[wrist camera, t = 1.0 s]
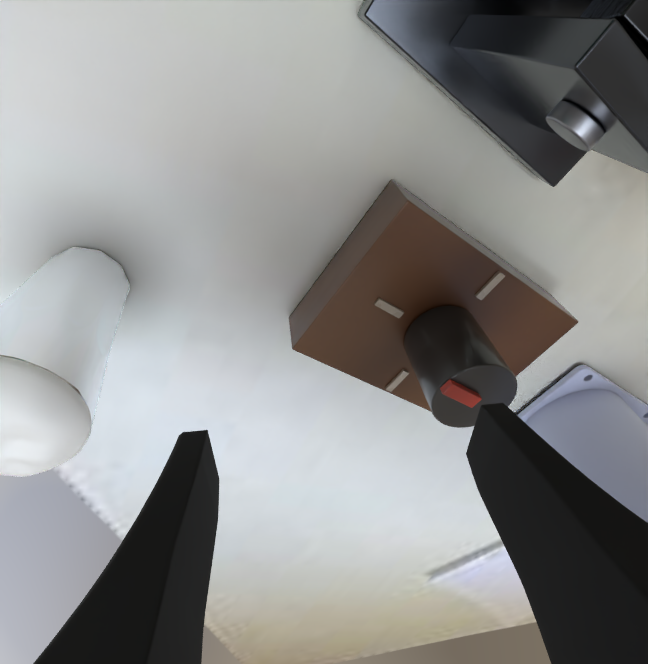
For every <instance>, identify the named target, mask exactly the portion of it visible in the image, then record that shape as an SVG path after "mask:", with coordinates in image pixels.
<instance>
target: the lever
mask: <svg viewBox="0 0 648 664" xmlns="http://www.w3.org/2000/svg"><path fill="white" fill-rule="evenodd" d="M580 17H583V18H615V19H617V20H618V21H619V22H620V24H621V25H622V26H623V28H624V29H625V30H626V32H627V33H628V34H629V36H630V37H631V38H632V39H633V41H634V42H635V43H636V45H637V46H638V47H639V49H640V50H641V51H642V53H643V54H644V55H645V57H646V58H647V59H648V0H593V1H592V2H591V3H590V4H589V6H588V7H587V8H586V9H585V11H584V12H583V13H582V14H581V15H580Z"/></svg>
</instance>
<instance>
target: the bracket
mask: <svg viewBox="0 0 648 664" xmlns="http://www.w3.org/2000/svg"><path fill="white" fill-rule="evenodd" d="M592 1H593V0H365V2H364V4H363V5H362V7H361V9H360V10H359V12H358V17H359V18H361V19H362V20H363V21H364V22H365V23H366V24H367V25H368V26H369V27H371V28H372V29H373V30H374V31H375V32H376V33H377V34H378V35H380V36H381V37H382V38H383V39H384V40H385V41H386V42H387V43H388V44H390V45H391V46H392V47H393V48H394V49H395V50H396V51H397V52H398V53H400V54H401V55H402V56H403V57H404V58H405V59H406V60H407V61H409V62H410V63H411V64H412V65H413V66H414V67H415V68H416V69H417V70H419V71H420V72H421V73H422V74H423V75H424V76H425V77H426V78H427V79H429V80H430V81H431V82H432V83H433V84H434V85H435V86H436V87H438V88H439V89H440V90H441V91H442V92H443V93H444V94H445V95H446V96H448V97H449V98H450V99H451V100H452V101H453V102H454V103H455V104H456V105H458V106H459V107H460V108H461V109H462V110H463V111H464V112H465V113H467V114H468V115H469V116H470V117H471V118H472V119H473V120H474V121H475V122H477V123H478V124H479V125H480V126H481V127H482V128H483V129H484V130H485V131H487V132H488V133H489V134H490V135H491V136H492V137H493V138H494V139H496V140H497V141H498V142H499V143H500V144H501V145H502V146H503V147H504V148H506V149H507V150H508V151H509V152H510V153H511V154H512V155H513V156H514V157H516V158H517V159H518V160H519V161H520V162H521V163H522V164H523V165H525V166H526V167H527V168H528V169H529V170H530V171H531V172H532V173H533V174H535V175H536V176H537V177H538V178H539V179H541V180H542V181H544V182H546V183H547V184H549V185H551V186H553V187H554V186H556V185H557V183H558V182H559V181H560V180H561V179H562V178H563V177H564V176H565V175H566V174H567V173H568V172H569V171H570V170H571V169H572V168H573V166H574V165H575V164H576V163H577V162H578V161H579V160H580V159H581V158H582V157H583V156H584V155H585V154H586V153H587V152H588V151H589V150H593V151H596V152H598V153H601V154H603V155H605V156H608V157H610V158H612V159H615V160H617V161H620V162H622V163H624V164H627V165H629V166H631V167H634V168H636V169H638V170H641V171H643V172H646V173H648V59H647V58H646V57H645V55H644V54H643V53H642V51H641V50H640V49H639V47H638V46H637V45H636V43H635V42H634V41H633V39H632V38H631V37H630V36H629V34H628V33H627V32H626V30H625V29H624V28H623V26H622V25H621V24H620V22H619V21H618V20H617V19H615V18H583V17H580V15H581V14H582V13H583V12H584V11H585V9H586V8H587V7H588V6H589V4H590V3H591V2H592Z"/></svg>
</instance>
